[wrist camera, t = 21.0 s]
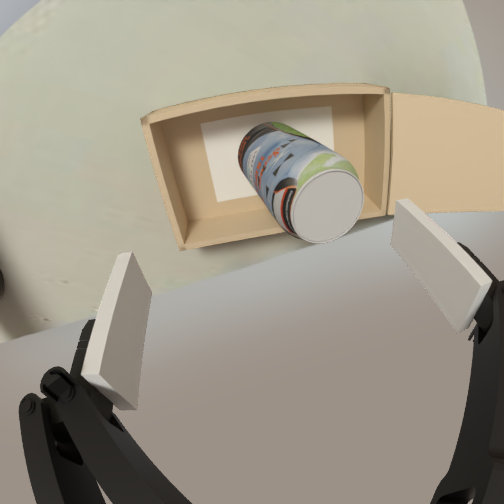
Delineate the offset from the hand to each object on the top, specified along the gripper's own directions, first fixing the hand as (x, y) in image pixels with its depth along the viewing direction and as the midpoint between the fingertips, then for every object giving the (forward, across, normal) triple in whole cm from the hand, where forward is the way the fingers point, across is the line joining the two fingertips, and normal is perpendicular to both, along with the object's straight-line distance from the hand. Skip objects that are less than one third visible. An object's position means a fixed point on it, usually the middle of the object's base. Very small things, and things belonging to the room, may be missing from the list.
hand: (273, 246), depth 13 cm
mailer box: (+15, +3, 0) cm, 16 cm away
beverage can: (+15, +3, 0) cm, 15 cm away
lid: (+8, +22, 0) cm, 24 cm away
